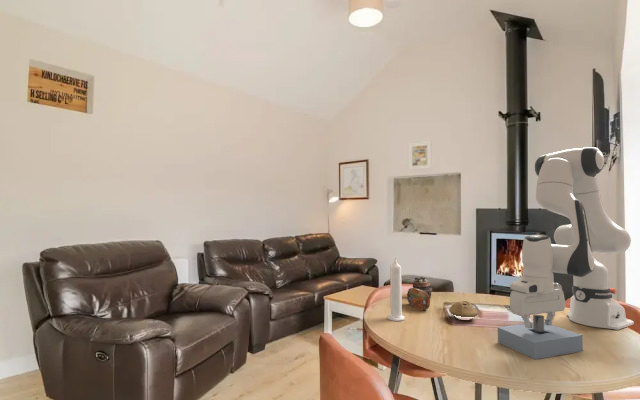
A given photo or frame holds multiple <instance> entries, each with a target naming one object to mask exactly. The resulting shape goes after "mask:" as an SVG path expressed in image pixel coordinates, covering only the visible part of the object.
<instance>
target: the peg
mask: <svg viewBox="0 0 640 400" xmlns="http://www.w3.org/2000/svg"><path fill="white" fill-rule="evenodd" d="M544 319H545V316H544V315H542V314H533V315H532V323H533V332H535V333H538V334H544V322H545V321H544Z"/></svg>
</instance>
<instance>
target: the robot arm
mask: <svg viewBox="0 0 640 400" xmlns="http://www.w3.org/2000/svg"><path fill="white" fill-rule="evenodd" d="M604 166H605V156H604V155H603V152H602V150H600V148H598V147H594V146H593V147H592V146H586V147H583V148H582V147H581V148H571V149H570V148H569V149H565V150H561V151H556V152H553V153H546V154H542V155H540V156H539V157H538V158H537V159H535V163H534V171H535V175H536V176H537V181H536V187H535V197H536V202H537V203H538V204H539V205H540V207H541V208H543V209H545V210H547V211H548V212H551V213H554V214H556V215H561V216H563V217H566V218H567V219H569V222H570V224H562V225H560V226H558V227H557V228H556V229H555V231H554V234H553V239H554V242H555V244H554V243H552V240H551V237H550V236H548V235H545V234H530V235H527V236H525V237H524V238H523V242H522V247H521V248H522V249H521V262H522V266H523V269H522V272H521V275H522V276H521V277H520V278H518V279H516V280H515V281H512V282H510V284H509V286H510V287H509V288H510V289H511V290H512V291H510V296H509V309H510V311H511V313H512V314H514V315H515V316H520V318H521V319H522V320H523V324H524V326H525V327H526V328H532V327H533V326H532V325H533V324H532V323H533V322H531V320H530V318H531V316H533V315H542V314H546V318H544V322H545V325H548V326H549V325H554V322H553V320H554V318H555V317H556V312H563V311H564V310H565V308H566V299H565V293H564V291H563V286H562V285H561V284H560V283H558V282H555V281H554V277H555V276H554V273H556V274H562V275H563V274H565V275H569V276H572V277H573V278H572V279H573V280H572V281H573V284H572V287H571V290H572V292H571V293H572V294H573V295H572V296H571V297H570V304H569V312H567V314H566V315H567V317H568V318H569V320H570V321H572V322H574V323H577V324H580V325H584V326H587V327H594V328H601V329H602V328H603V329H611V330H616V331H618V330H621V329H624V328H627V327H630V326H633V325H634V324H635V323H634V321H633V320H632V319H629V318H627V317H626V315H627V314H626V310H625V307H624V306H623V305H621V304H620V303H619V302H618V301H616V300H615V299H614V298H613V294H614V295H616V294H617V289H616V288H612V287H609V269H608V268H607V267H606V265H604V263H602V262H600V261H598V260H597V259H596V258H595V257H594V255H593V253H596V254H605V255H606V254H607V255H609V254H610V255H612V254H623V253H626V251H627V250H629V247H630V245H631V242H632V240H631V236H630V234H629V232H628V231H627V229H625V228H624V227H622V226H620V225H619V224H617V223H616V222H614V221H613V220H612V219H611V217H610V216H609V215H608V214H607V212H606V210H605V208H604V206H603V202H602V198H601V192H600V187H599V181H598V178H597V175H598V174H600V173H601V172H602V170H603V169H604Z"/></svg>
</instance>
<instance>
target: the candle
mask: <svg viewBox="0 0 640 400" xmlns="http://www.w3.org/2000/svg"><path fill="white" fill-rule="evenodd" d="M389 269H390V272H389V274H390V277H389V278H390V280H389V281H390V282H389V283H390V289H389V290H390V293H389V294H390V314H388V315H387V320H390V321H392V322H403V321H405V319H406V318H405V317H406V316H405V315H403V313H402V310H403V309H402V308H403V306H402V303H403V300H402V294H403V293H402V266H401V265H400V264H399V263H398V259H397V258H396V257H395V258H394V261H393V263H392V264H391V265H390V267H389Z"/></svg>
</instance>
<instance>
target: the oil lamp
mask: <svg viewBox="0 0 640 400" xmlns="http://www.w3.org/2000/svg"><path fill="white" fill-rule="evenodd" d="M448 311H449V313H450V314H451V315H452V314H453V315H456V316H461V317H474V318H475V317H477V316H478V314H479V312H478V310H477V308H476V307H474V306H473V305H472V303H471V302H470V301H468V300H467V301H466V300H463V301H462V300H461V301H456V302H454V303H452V305H451V306H450V307H449V308H448ZM453 315H452V316H453Z"/></svg>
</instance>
